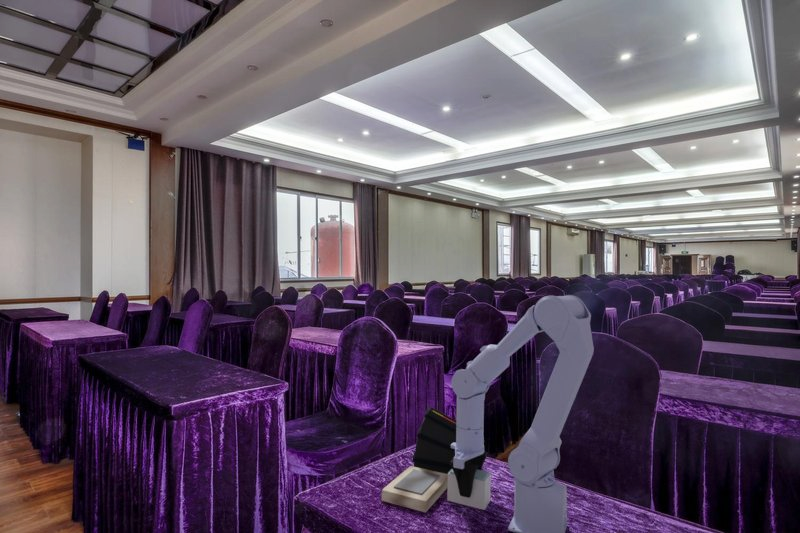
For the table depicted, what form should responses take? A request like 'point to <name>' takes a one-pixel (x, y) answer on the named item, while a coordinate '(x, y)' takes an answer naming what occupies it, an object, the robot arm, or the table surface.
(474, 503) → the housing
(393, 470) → the table surface
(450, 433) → the magazine
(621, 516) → the table surface
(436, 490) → the stand
